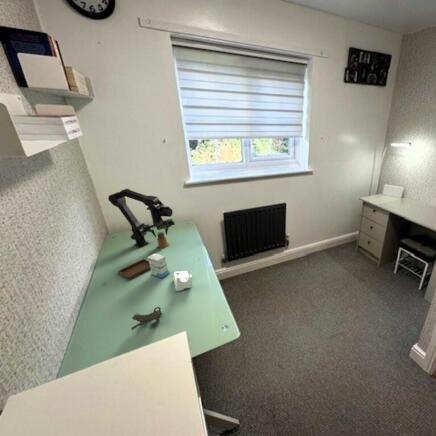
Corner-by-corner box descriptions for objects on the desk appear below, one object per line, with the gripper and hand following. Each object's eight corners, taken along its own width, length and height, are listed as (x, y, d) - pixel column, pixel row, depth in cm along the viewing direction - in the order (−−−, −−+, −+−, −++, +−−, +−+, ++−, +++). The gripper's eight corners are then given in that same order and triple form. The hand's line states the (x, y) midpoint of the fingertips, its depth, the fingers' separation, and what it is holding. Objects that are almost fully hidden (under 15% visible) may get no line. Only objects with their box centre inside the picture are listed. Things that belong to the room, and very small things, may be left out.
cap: (164, 237, 162) (163, 234, 161) (157, 238, 160) (157, 235, 159) (164, 234, 165) (163, 231, 164) (157, 235, 164) (157, 232, 163)
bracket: (190, 289, 127) (192, 276, 125) (176, 290, 123) (177, 278, 121) (186, 276, 137) (187, 264, 135) (172, 277, 133) (174, 265, 131)
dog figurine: (163, 314, 109) (160, 302, 106) (163, 323, 105) (159, 311, 102) (133, 322, 105) (129, 310, 102) (131, 332, 100) (127, 319, 97)
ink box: (169, 273, 138) (165, 256, 133) (161, 278, 133) (157, 260, 129) (159, 269, 141) (154, 252, 136) (151, 274, 137) (146, 257, 132)
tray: (118, 273, 137) (117, 270, 136) (144, 261, 149) (144, 258, 148) (129, 280, 131) (128, 277, 131) (155, 266, 143) (154, 263, 143)
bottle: (157, 246, 165) (154, 234, 161) (164, 243, 169) (162, 231, 166) (162, 248, 162) (159, 237, 159) (169, 245, 167) (166, 233, 163)
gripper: (143, 223, 145) (148, 245, 152) (174, 215, 156) (179, 236, 163) (139, 217, 153) (145, 238, 159) (170, 211, 164) (174, 230, 170)
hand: (161, 236), depth 163 cm, fingers open, 6 cm apart
